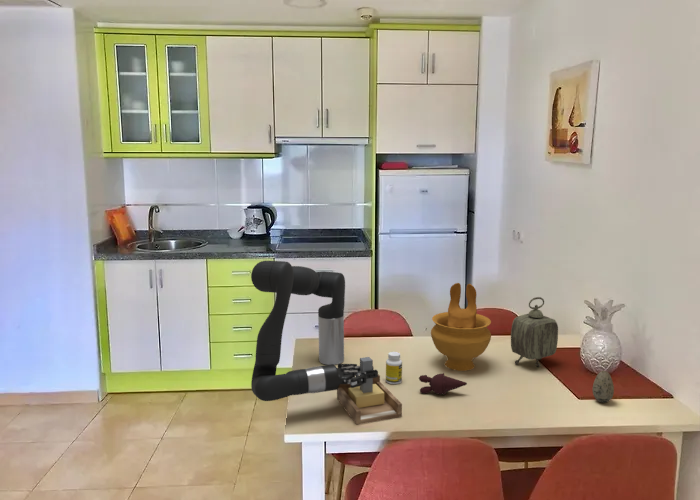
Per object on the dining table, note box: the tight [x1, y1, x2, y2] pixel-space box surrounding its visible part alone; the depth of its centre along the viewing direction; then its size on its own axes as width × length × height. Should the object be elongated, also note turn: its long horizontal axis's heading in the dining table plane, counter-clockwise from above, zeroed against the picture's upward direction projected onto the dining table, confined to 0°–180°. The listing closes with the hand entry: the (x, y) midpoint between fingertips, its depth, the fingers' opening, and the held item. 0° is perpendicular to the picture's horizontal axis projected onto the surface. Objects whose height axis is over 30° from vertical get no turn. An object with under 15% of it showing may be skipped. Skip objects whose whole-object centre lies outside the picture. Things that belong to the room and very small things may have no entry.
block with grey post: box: [348, 356, 384, 408], centre depth 172 cm, size 7×9×14 cm
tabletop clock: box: [510, 296, 559, 368], centre depth 202 cm, size 14×9×25 cm, turn 115°
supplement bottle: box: [385, 351, 403, 385], centre depth 190 cm, size 5×5×10 cm
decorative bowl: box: [430, 282, 492, 372], centre depth 202 cm, size 21×21×30 cm
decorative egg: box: [592, 370, 615, 404], centre depth 174 cm, size 6×6×10 cm
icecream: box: [418, 372, 468, 396], centre depth 181 cm, size 7×7×15 cm
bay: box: [336, 373, 403, 425], centre depth 171 cm, size 18×14×6 cm
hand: (374, 371), depth 173 cm, fingers closed on block with grey post, 3 cm apart
